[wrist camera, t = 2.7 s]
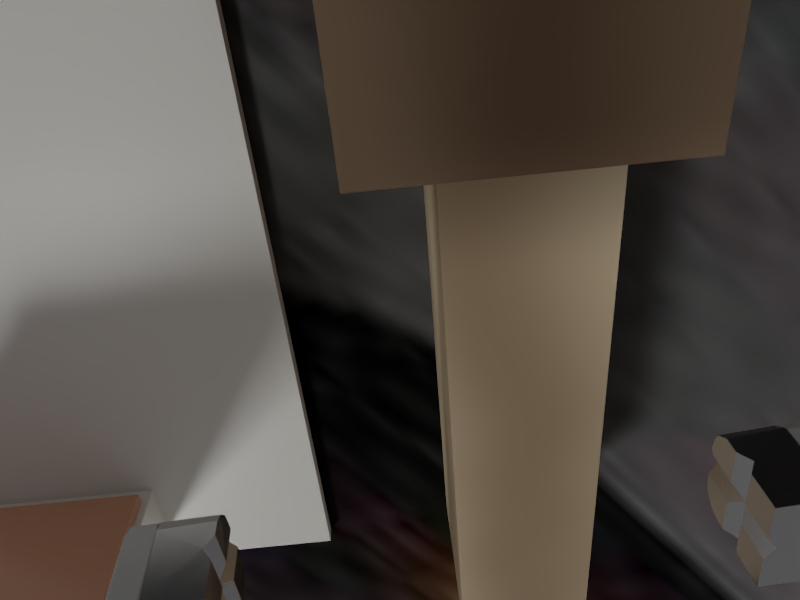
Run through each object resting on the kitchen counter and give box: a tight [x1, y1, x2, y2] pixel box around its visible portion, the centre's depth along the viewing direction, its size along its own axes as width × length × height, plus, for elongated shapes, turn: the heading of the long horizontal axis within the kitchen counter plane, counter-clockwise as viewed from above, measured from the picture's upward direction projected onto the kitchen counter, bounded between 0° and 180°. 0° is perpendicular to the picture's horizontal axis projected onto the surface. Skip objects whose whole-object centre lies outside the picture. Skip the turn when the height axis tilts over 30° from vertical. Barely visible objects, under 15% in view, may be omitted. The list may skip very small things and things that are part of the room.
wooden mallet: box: [312, 0, 751, 600], centre depth 15 cm, size 6×17×4 cm, turn 5°
